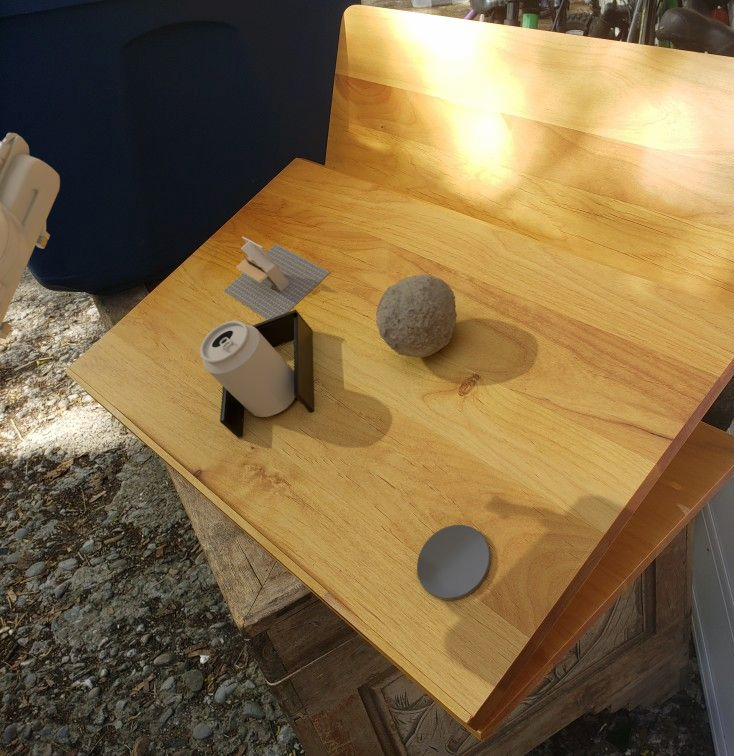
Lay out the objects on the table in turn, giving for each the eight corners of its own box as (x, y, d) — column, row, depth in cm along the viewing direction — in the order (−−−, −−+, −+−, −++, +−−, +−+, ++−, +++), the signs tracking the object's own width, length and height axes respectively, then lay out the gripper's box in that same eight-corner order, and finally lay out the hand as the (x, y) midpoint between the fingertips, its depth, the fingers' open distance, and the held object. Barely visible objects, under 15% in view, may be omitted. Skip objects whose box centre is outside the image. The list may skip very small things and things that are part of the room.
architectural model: (273, 298, 102) (245, 263, 96) (249, 283, 105) (221, 249, 100) (290, 283, 103) (263, 247, 97) (266, 269, 107) (238, 233, 101)
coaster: (473, 610, 64) (471, 608, 64) (406, 588, 68) (404, 586, 67) (502, 537, 68) (500, 534, 68) (437, 519, 71) (435, 517, 71)
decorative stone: (418, 384, 83) (384, 333, 76) (386, 349, 88) (351, 298, 81) (483, 334, 85) (456, 279, 77) (447, 302, 90) (419, 248, 83)
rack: (314, 411, 86) (296, 391, 82) (238, 438, 87) (217, 419, 83) (312, 330, 95) (295, 308, 91) (243, 355, 96) (224, 335, 92)
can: (287, 364, 92) (236, 305, 83) (312, 392, 88) (261, 334, 78) (242, 400, 90) (185, 344, 81) (265, 431, 86) (206, 375, 77)
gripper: (-36, 107, 54) (25, 175, 67) (-151, 352, 50) (-62, 373, 63) (52, 139, 55) (95, 199, 68) (-53, 378, 51) (14, 393, 64)
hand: (19, 284), depth 65 cm, fingers open, 8 cm apart
